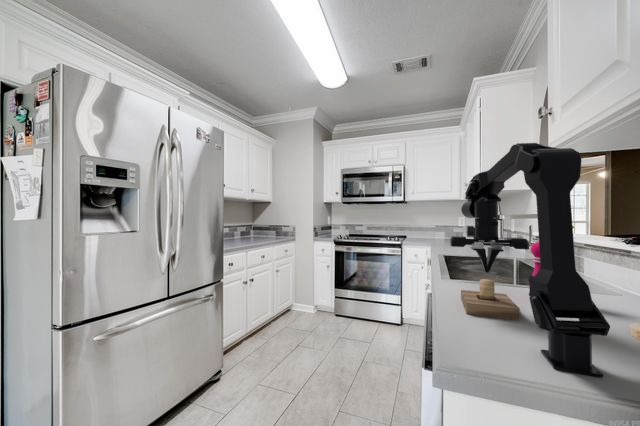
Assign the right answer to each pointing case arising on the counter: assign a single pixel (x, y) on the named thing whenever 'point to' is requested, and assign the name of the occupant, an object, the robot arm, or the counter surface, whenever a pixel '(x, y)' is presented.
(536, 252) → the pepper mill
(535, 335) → the counter surface
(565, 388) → the counter surface
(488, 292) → the peg
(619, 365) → the counter surface
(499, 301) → the board
